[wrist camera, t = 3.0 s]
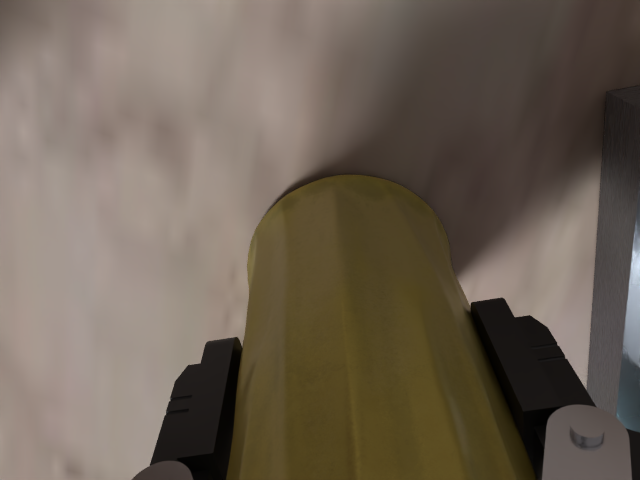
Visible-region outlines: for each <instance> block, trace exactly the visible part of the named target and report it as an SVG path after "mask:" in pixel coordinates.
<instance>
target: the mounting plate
mask: <svg viewBox="0 0 640 480" xmlns="http://www.w3.org/2000/svg"><path fill="white" fill-rule="evenodd" d="M587 392H588V394H589V395H590V397H591V399H592V400H593V402H594V404H595V405H596V407H597V408H600V409H602V410H605V411H607V412H609V413H610V414H612V415H613V416H615V417H616V418H617V419H619V421H620V422H621V423H622V424H623V425H624V426H625V428H627V429H630V430H633V431H636V432H640V86H636V87H630V88H624V89H618V90H613V91H607V92H606V107H605V122H604V137H603V152H602V167H601V183H600V198H599V213H598V228H597V243H596V258H595V273H594V288H593V304H592V319H591V334H590V349H589V364H588V379H587Z"/></svg>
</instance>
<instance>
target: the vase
mask: <svg viewBox="0 0 640 480" xmlns="http://www.w3.org/2000/svg"><path fill="white" fill-rule="evenodd" d="M247 271H248V284H249V301H248V309H247V318H246V328H245V335H244V341H243V347H242V353H241V360H240V367H239V374H238V382H237V391H236V404H235V417H234V428H233V437H232V445H231V452H230V459H229V465H228V471H227V477H226V480H538V479H537V476H536V474H535V471H534V469H533V466H532V464H531V461H530V458H529V456H528V453H527V451H526V448H525V446H524V443H523V441H522V438H521V435H520V433H519V430H518V428H517V425H516V423H515V420H514V418H513V415H512V413H511V410H510V408H509V405H508V403H507V401H506V398H505V396H504V393H503V391H502V389H501V386H500V384H499V381H498V379H497V377H496V374H495V372H494V369H493V367H492V365H491V362H490V360H489V358H488V355H487V353H486V350H485V348H484V345H483V343H482V340H481V338H480V335H479V332H478V330H477V327H476V324H475V322H474V319H473V317H472V314H471V308H470V305H469V303H468V301H467V298H466V296H465V294H464V292H463V290H462V288H461V286H460V284H459V282H458V280H457V278H456V275H455V273H454V271H453V268H452V264H451V254H450V246H449V241H448V238H447V235H446V232H445V230H444V228H443V226H442V224H441V222H440V220H439V218H438V217H437V215H436V214H435V213H434V211H433V210H432V209H431V208H430V207H429V206H428V205H427V204H426V203H425V202H424V201H423V200H422V199H421V198H420V197H418V196H417V195H416V194H414V193H413V192H411V191H410V190H408V189H406V188H404V187H403V186H401V185H399V184H396V183H394V182H392V181H389V180H385V179H382V178H377V177H372V176H365V175H335V176H331V177H326V178H323V179H320V180H317V181H314V182H311V183H309V184H307V185H304V186H302V187H300V188H298V189H296V190H294V191H292V192H291V193H289V194H287V195H286V196H285V197H283V198H282V199H280V200H279V201H278V202H277V203H276V204H275V205H274V206H273V207H272V208H271V209H270V210H269V211H268V212H267V214H266V215H265V216H264V217H263V219H262V220H261V221H260V223H259V225H258V226H257V228H256V230H255V232H254V235H253V237H252V240H251V244H250V248H249V253H248V263H247Z"/></svg>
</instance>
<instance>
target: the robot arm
mask: <svg viewBox="0 0 640 480" xmlns="http://www.w3.org/2000/svg"><path fill="white" fill-rule="evenodd" d="M471 314H472V317H473V319H474V322H475V324H476V327H477V330H478V332H479V335H480V338H481V340H482V343H483V345H484V348H485V350H486V353H487V355H488V358H489V360H490V362H491V365H492V367H493V369H494V372H495V374H496V377H497V379H498V381H499V384H500V386H501V389H502V391H503V393H504V396H505V398H506V401H507V403H508V405H509V408H510V410H511V413H512V415H513V418H514V420H515V423H516V425H517V428H518V430H519V433H520V435H521V438H522V441H523V443H524V446H525V448H526V451H527V453H528V456H529V458H530V461H531V464H532V466H533V469H534V471H535V474H536V476H537V479H538V480H640V432H636V431H633V430H630V429H627V428H625V426H624V425H623V424H622V423H621V422H620V421H619V419H617V418H616V417H615V416H613V415H612V414H610V413H609V412H607V411H605V410H602V409H600V408H597V407H596V405H595V404H594V402H593V400H592V399H591V397H590V395H589V394H588V392H587V391H586V389H585V387H584V386H583V384H582V382H581V381H580V379H579V378H578V376H577V374H576V373H575V371H574V370H573V368H572V366H571V365H570V363H569V361H568V360H567V359H565V355H564V353H563V352H562V350H561V349H560V347H559V346H558V345H557V342H556V340H555V339H554V337H553V336H552V334H551V332H550V331H549V329H548V328H547V327H546V326H545V325H543V324H542V323H540V322H539V321H538V320H536V319H535V318H533V317H532V316H530V315H529V316H522V317H514V315H513V314H512V312H511V310H510V308H509V306H508V304H507V303H506V301H505V299H504V298H497V299H490V300H483V301H477V302H472V303H471ZM241 353H242V346H241V343H240V340H239V339H238V338H237V337H234V338H227V339H221V340H214V341H208V342H207V343H206V345H205V348H204V352H203V356H202V360H201V364H194V365H188V366H187V367H186V369H185V370H184V371H183V372H182V374H181V375H180V376H179V377H178V379H177V380H176V381H175V384H174V387H173V390H172V394H171V397H170V400H171V401H169V404H168V407H167V410H166V415H165V417H164V420H163V424H162V427H161V430H160V433H159V437H158V440H157V443H156V447H155V450H154V453H153V457H152V460H151V463H150V466H149V467H147V468H145V469H144V470H142V471H141V472H139V473H138V474H137V475H136V476H135V477H134V478H133V479H132V480H226V477H227V471H228V465H229V459H230V452H231V445H232V437H233V428H234V417H235V404H236V391H237V382H238V374H239V367H240V360H241Z"/></svg>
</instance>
